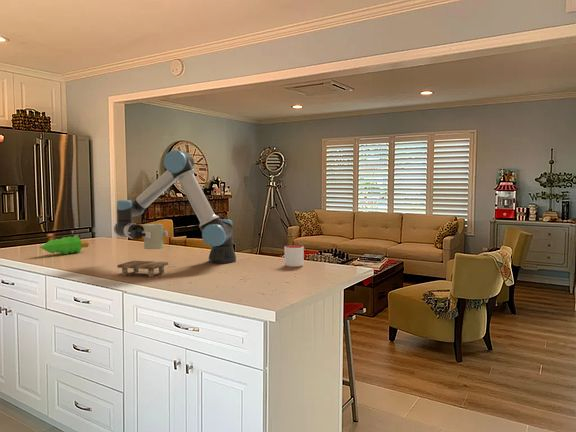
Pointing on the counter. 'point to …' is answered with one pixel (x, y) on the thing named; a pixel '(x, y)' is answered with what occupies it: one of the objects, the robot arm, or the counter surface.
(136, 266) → the wooden pallet
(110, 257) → the counter surface
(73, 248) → the decorative tree
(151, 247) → the grey-green block
